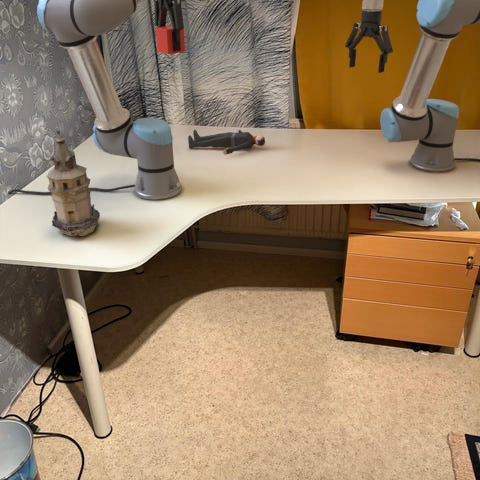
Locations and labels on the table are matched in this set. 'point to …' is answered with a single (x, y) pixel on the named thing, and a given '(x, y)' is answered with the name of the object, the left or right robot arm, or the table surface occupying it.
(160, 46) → the red cube
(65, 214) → the miniature building
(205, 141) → the toy
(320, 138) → the table surface
